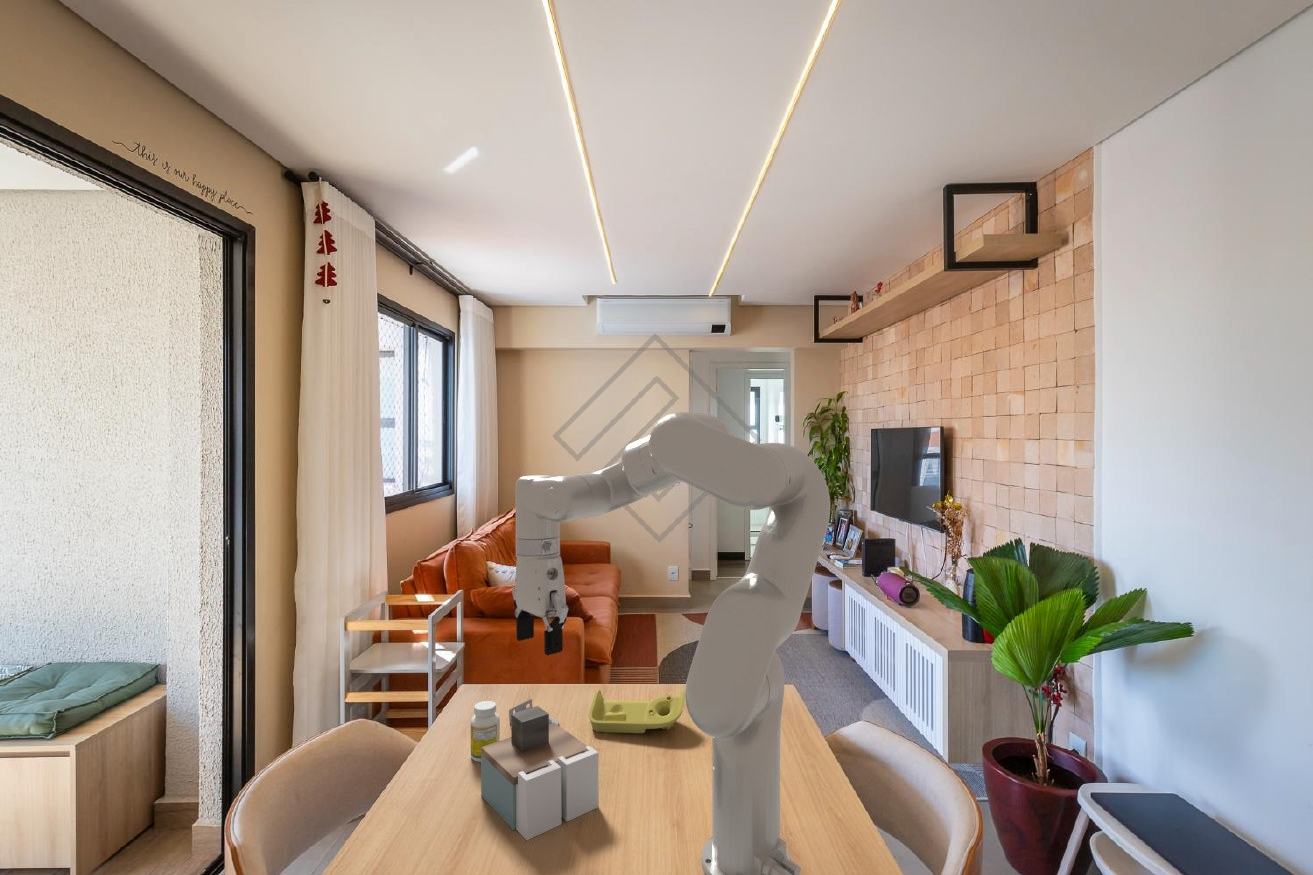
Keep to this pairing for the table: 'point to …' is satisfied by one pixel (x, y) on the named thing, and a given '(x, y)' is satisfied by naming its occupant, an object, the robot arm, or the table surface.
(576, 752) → the door
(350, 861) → the table surface
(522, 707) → the bracket
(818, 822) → the table surface
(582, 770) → the cabinet
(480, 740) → the supplement bottle
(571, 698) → the table surface
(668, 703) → the plastic component
